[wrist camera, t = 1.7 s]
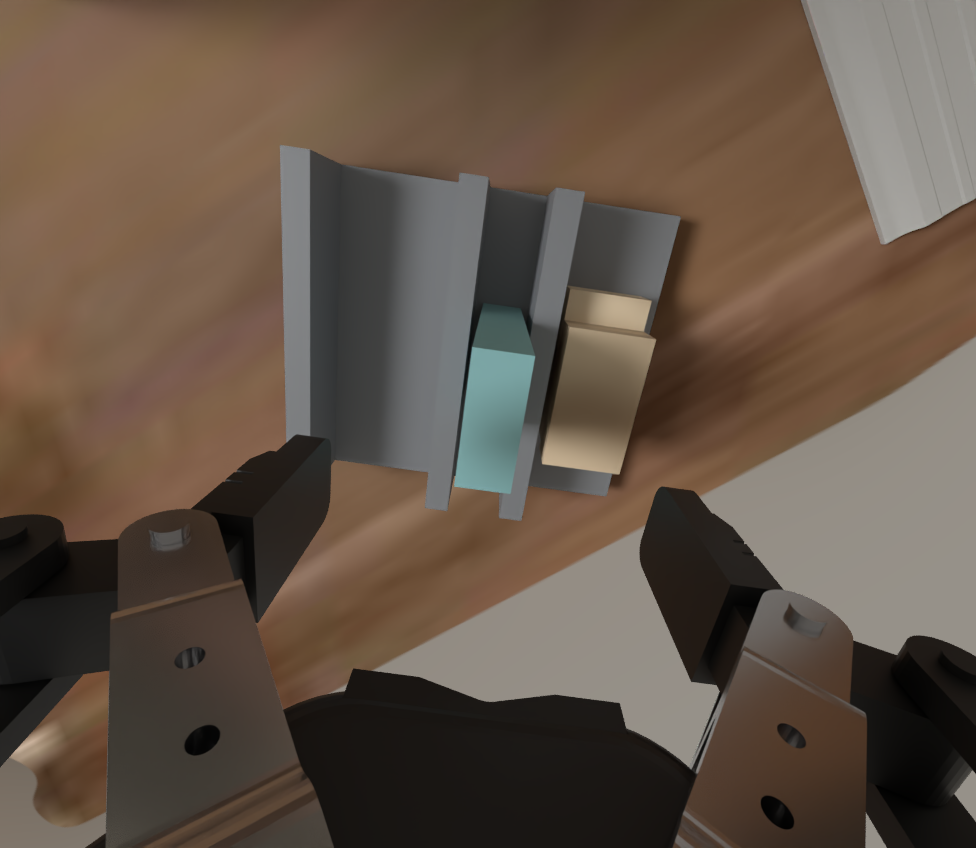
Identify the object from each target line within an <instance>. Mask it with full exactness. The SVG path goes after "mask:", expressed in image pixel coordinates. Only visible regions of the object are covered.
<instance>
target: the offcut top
mask: <svg viewBox="0 0 976 848" xmlns="http://www.w3.org/2000/svg"><path fill="white" fill-rule="evenodd" d="M655 342H656V339H655V338H653V337H652V336H650V335H648V334H647V333H645V332H643V331H636V330H630V329H623V328H616V327H609V326H602V325H595V324H588V323H581V322H575V321H568V320H564V324H563V330H562V335H561V340H560V345H559V350H558V355H557V360H556V365H555V370H554V375H553V380H552V385H551V390H550V395H549V400H548V406H547V411H546V416H545V421H544V426H543V431H542V436H541V441H540V446H539V450H540V455H541V460H542V464H546V465H553V466H561V467H568V468H575V469H583V470H590V471H597V472H605V473H612V474H620V470H621V467H622V463H623V459H624V456H625V452H626V449H627V445H628V441H629V438H630V434H631V430H632V427H633V423H634V419H635V416H636V412H637V408H638V405H639V401H640V397H641V394H642V390H643V386H644V383H645V379H646V375H647V372H648V368H649V364H650V361H651V357H652V353H653V350H654V346H655Z"/></svg>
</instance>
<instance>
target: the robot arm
mask: <svg viewBox="0 0 976 848" xmlns="http://www.w3.org/2000/svg"><path fill="white" fill-rule="evenodd" d="M330 485H331V443H330V440H329V439H327V438H320V437H313V436H306V435H299V434H296V435H295V436H293V437H292V438H291V439H290V440H289V441H288V442H287V443H286V444H284V445H283V446H282V447H281V448H280V449H279V450H278V451H277V452H276V451H268V452H266V453H263V454H261V455H258V456H256V457H253V458H251V459H249V460H248V461H247V462H246V463H245V464H243V465H242V466H241V467H240V468H239V469H237V472H234V473H233V474H232V475H230V476H229V477H228V478H227V479H226V481H225V482H222V483H221V484H220V485H218V486H217V487H216V488H215V489H214V490H213V491H211V492H210V493H209V494H208V495H207V496H205V497H204V498H203V499H202V500H201V501H200V502H198V503H197V504H196V505H195V506H194V507H192V508H191V509H175V510H168V511H163V512H159V513H155V514H152V515H149V516H146V517H144V518H141V519H139V520H137V521H136V522H134V523H132V524H131V525H129V526H128V527H127V528H126V529H125V530H124V531H123V532H122V533H121V535H120V536H119V539H113V540H97V541H80V542H67V540H66V536H65V531H64V526H63V524H62V522H61V521H60V520H58V519H56V518H54V517H51V516H46V515H34V514H33V515H17V516H10V517H4V518H0V767H1V766H2V765H3V763H4V762H5V761H6V760H7V759H8V758H9V757H10V756H11V755H12V753H13V752H14V751H15V750H16V749H17V748H18V747H19V746H20V745H21V743H22V742H23V741H24V740H25V739H26V738H27V737H28V736H29V734H30V733H31V732H32V731H33V730H34V729H35V728H36V727H37V726H38V724H39V723H40V722H41V721H42V720H43V719H44V718H45V717H46V716H47V714H48V713H49V712H50V711H51V710H52V709H53V708H54V707H55V706H56V704H57V703H58V702H59V701H60V700H61V699H62V698H63V697H64V695H65V694H66V693H67V692H68V691H69V690H70V689H71V688H72V687H73V685H74V684H75V683H76V682H77V681H78V680H79V679H80V678H81V677H82V675H83V674H87V673H95V672H102V671H109V708H108V755H107V802H106V833H105V834H104V835H102V836H101V837H100V838H98V839H97V840H95V841H94V842H93V843H91V844H90V845H88V846H87V847H86V848H865V837H866V813H867V815H868V816H869V818H870V820H871V821H872V823H873V825H874V826H875V828H876V830H877V832H878V833H879V835H880V836H881V838H882V840H883V842H884V843H885V845H886V847H887V848H976V822H975V820H974V819H973V818H972V816H971V815H970V814H969V813H968V811H967V810H966V809H965V808H964V806H963V805H962V804H961V803H960V801H959V800H958V798H957V797H956V796H955V795H954V793H955V792H956V791H957V789H958V788H959V787H960V785H961V784H962V783H963V781H964V780H965V779H966V778H967V776H968V775H969V774H970V773H971V771H972V770H973V771H974V772H975V773H976V656H974V655H972V654H971V653H969V652H966V651H965V650H963V649H961V648H959V647H957V646H954V645H952V644H950V643H947V642H944V641H942V640H939V639H935V638H932V637H927V636H912V637H910V638H908V639H907V640H906V642H905V644H904V645H903V647H902V649H901V650H900V652H899V653H898V655H894V654H891V653H888V652H885V651H882V650H879V649H877V648H874V647H871V646H868V645H865V644H862V643H859V642H856V641H853V636H852V633H851V631H850V630H849V628H848V627H847V626H846V624H845V623H844V622H843V621H842V620H841V619H840V618H839V617H838V616H837V615H835V614H834V613H833V612H832V611H830V610H829V609H827V608H826V607H824V606H823V605H821V604H819V603H818V602H816V601H814V600H812V599H810V598H808V597H805V596H803V595H800V594H797V593H794V592H790V591H785V590H783V589H782V587H781V586H780V585H779V584H778V582H777V581H776V580H775V579H774V578H773V576H772V575H771V574H770V573H769V571H768V570H767V569H766V568H765V566H764V565H763V564H762V563H761V562H760V560H759V559H758V558H757V557H756V556H754V553H753V552H752V551H751V549H750V548H749V547H748V546H747V544H744V541H743V539H742V538H741V537H740V536H739V535H738V533H737V532H736V531H735V530H734V528H733V527H731V526H730V525H729V524H727V523H726V522H725V521H723V520H722V519H720V518H719V517H718V516H716V515H715V514H712V513H711V512H710V510H709V509H708V508H707V507H706V505H705V504H704V503H703V502H702V500H701V499H700V498H699V496H698V495H697V494H696V493H695V492H694V491H691V490H684V489H676V488H669V487H660V488H659V489H658V490H657V492H656V494H655V497H654V500H653V504H652V507H651V510H650V513H649V517H648V520H647V523H646V526H645V530H644V533H643V536H642V539H641V544H640V562H641V566H642V568H643V571H644V573H645V576H646V578H647V580H648V583H649V585H650V587H651V590H652V592H653V594H654V597H655V599H656V601H657V604H658V606H659V608H660V610H661V613H662V615H663V617H664V620H665V622H666V624H667V627H668V629H669V631H670V634H671V636H672V638H673V640H674V643H675V645H676V648H677V650H678V652H679V654H680V657H681V659H682V661H683V664H684V666H685V668H686V670H687V673H688V675H689V678H690V680H691V682H698V683H705V684H713V685H717V687H718V689H719V691H720V692H719V694H718V696H717V699H716V701H715V703H714V705H713V708H712V710H711V713H710V716H709V718H708V721H707V723H706V726H705V729H704V731H703V733H702V736H701V739H700V741H699V744H698V746H697V749H696V751H695V754H694V756H693V759H692V761H691V764H690V767H687V765H686V764H684V763H683V762H682V761H681V760H680V759H678V758H677V757H676V756H674V755H673V754H671V753H670V752H669V751H667V750H666V749H664V748H663V747H661V746H659V745H658V744H656V743H655V742H653V741H651V740H650V739H648V738H646V737H644V736H642V735H640V734H638V733H636V732H634V731H631V730H628V729H626V726H625V722H624V718H623V714H622V710H621V707H620V703H614V702H607V701H599V700H591V699H583V698H575V697H568V696H560V695H550V696H540V697H532V698H524V699H515V700H506V701H497V702H485V701H481V700H478V699H476V698H473V697H470V696H467V695H465V694H462V693H460V692H457V691H454V690H451V689H449V688H446V687H444V686H441V685H438V684H436V683H433V682H431V681H428V680H426V679H423V678H420V677H414V676H407V675H398V674H391V673H384V672H376V671H368V670H361V669H353V670H352V673H351V676H350V679H349V682H348V685H347V687H346V690H345V691H344V692H337V693H331V694H327V695H322V696H318V697H314V698H311V699H308V700H306V701H303V702H300V703H297V704H295V705H293V706H291V707H288V708H286V709H284V710H283V708H282V705H281V702H280V698H279V695H278V692H277V689H276V686H275V682H274V679H273V676H272V673H271V670H270V666H269V663H268V660H267V657H266V654H265V650H264V647H263V644H262V641H261V638H260V634H259V631H258V628H257V625H256V623H258V622H259V621H260V619H261V617H262V616H263V614H264V613H265V611H266V610H267V608H268V607H269V605H270V604H271V602H272V601H273V599H274V597H275V596H276V594H277V593H278V591H279V590H280V588H281V587H282V585H283V584H284V582H285V581H286V579H287V577H288V576H289V574H290V573H291V571H292V570H293V568H294V567H295V565H296V564H297V562H298V560H299V559H300V557H301V556H302V554H303V553H304V551H305V550H306V548H307V547H308V545H309V544H310V542H311V540H312V539H313V537H314V536H315V534H316V533H317V531H318V530H319V528H320V527H321V525H322V523H323V522H324V520H325V518H326V515H327V512H328V508H329V503H330Z"/></svg>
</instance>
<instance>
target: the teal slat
mask: <svg viewBox="0 0 976 848" xmlns="http://www.w3.org/2000/svg"><path fill="white" fill-rule="evenodd" d="M534 361H535V353H534V350H533V347H532V344H531V340H530V337H529V334H528V331H527V327H526V324H525V321H524V317H523V314H522V311H521V308H515V307H508V306H501V305H494V304H487V303H483V307H482V311H481V315H480V319H479V322H478V326H477V330H476V334H475V338H474V342H473V346H472V352H471V360H470V368H469V375H468V383H467V391H466V399H465V407H464V414H463V422H462V430H461V438H460V446H459V453H458V461H457V469H456V477H455V485H454V486H455V487H462V488H469V489H477V490H484V491H492V492H499V493H507V494H511V489H512V483H513V477H514V472H515V466H516V461H517V455H518V450H519V444H520V438H521V433H522V427H523V422H524V416H525V411H526V405H527V400H528V394H529V388H530V383H531V377H532V372H533V366H534Z"/></svg>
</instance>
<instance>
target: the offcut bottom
mask: <svg viewBox="0 0 976 848" xmlns="http://www.w3.org/2000/svg"><path fill="white" fill-rule="evenodd" d="M651 302H652V301H651V300H648V299H646V298H643V297H641V296H635V295H628V294H622V293H615V292H608V291H601V290H595V289H588V288H581V287H574V286H568V285H567V288H566V293H565V298H564V303H563V308H562V314H561V319H560V324H559V329H558V334H557V339H556V345H555V350H554V355H553V360H552V365H551V370H550V375H549V381H548V386H547V391H546V396H545V401H544V406H543V411H542V417H541V422H540V427H539V433H540V438H541V436H542V431H543V426H544V421H545V416H546V411H547V406H548V400H549V395H550V390H551V385H552V380H553V375H554V370H555V365H556V360H557V355H558V350H559V345H560V340H561V335H562V330H563V324H564V320H568V321H575V322H581V323H588V324H595V325H602V326H609V327H616V328H623V329H630V330H636V331H643V332H644V329H645V325H646V321H647V317H648V313H649V310H650V306H651Z"/></svg>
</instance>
